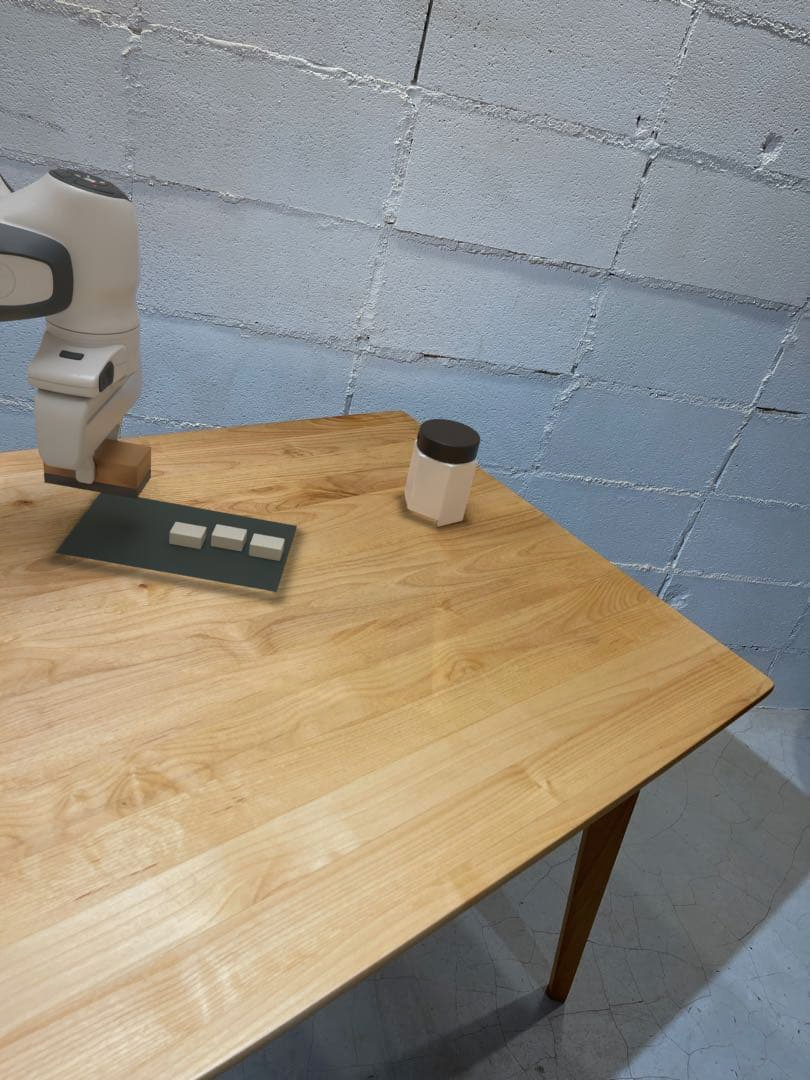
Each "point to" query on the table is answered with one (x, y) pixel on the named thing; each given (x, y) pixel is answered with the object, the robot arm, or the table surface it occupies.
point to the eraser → (110, 470)
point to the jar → (442, 470)
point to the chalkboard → (143, 542)
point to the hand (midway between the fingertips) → (97, 466)
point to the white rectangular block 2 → (228, 537)
